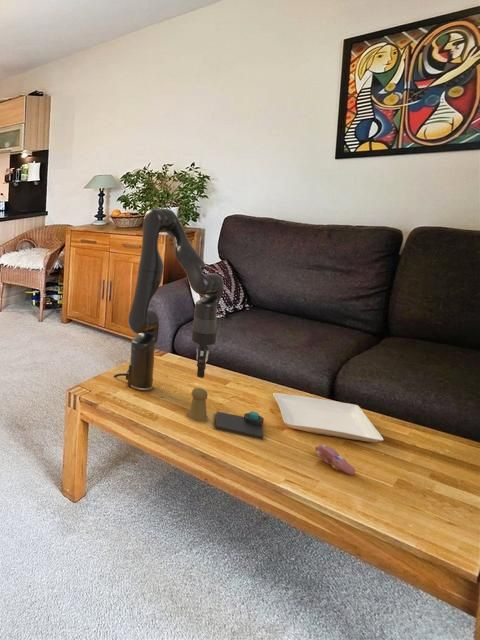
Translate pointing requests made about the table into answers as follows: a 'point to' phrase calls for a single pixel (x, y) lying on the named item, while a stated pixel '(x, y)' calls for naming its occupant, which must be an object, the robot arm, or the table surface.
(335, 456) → the pink tapered lump
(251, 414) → the button
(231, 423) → the scale
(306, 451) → the table surface
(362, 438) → the square plate
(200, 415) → the cork
